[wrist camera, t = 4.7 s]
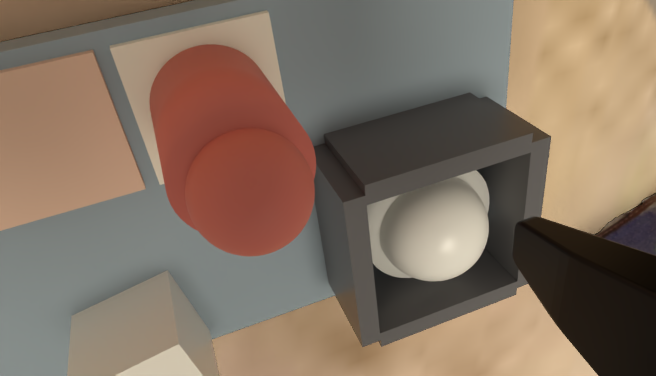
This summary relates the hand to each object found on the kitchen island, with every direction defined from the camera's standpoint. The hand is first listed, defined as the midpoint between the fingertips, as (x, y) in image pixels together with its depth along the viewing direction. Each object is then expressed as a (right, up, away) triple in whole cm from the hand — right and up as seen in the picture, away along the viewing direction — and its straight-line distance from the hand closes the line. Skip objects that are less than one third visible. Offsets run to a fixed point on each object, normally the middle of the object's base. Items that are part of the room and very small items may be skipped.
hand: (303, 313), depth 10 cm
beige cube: (-7, -3, +12) cm, 15 cm away
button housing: (+4, +2, +14) cm, 14 cm away
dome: (+4, +2, +13) cm, 14 cm away
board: (-4, +2, +11) cm, 12 cm away
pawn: (-3, +5, +8) cm, 10 cm away
